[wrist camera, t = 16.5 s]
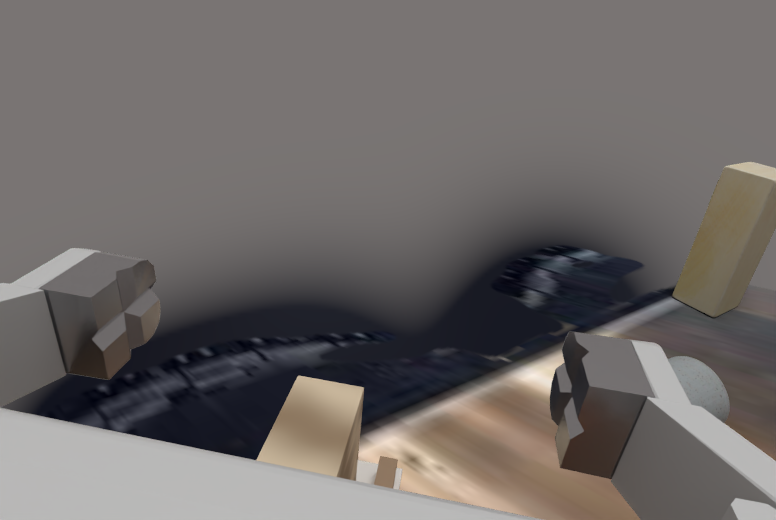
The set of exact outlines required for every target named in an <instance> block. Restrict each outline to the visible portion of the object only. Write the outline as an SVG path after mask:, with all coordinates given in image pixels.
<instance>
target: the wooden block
mask: <svg viewBox="0 0 776 520" xmlns="http://www.w3.org/2000/svg"><path fill="white" fill-rule="evenodd" d="M363 394H364V388H363V387H358V386H352V385H347V384H341V383H336V382H331V381H325V380H320V379H315V378H309V377H304V376H298V377H297V379H296V381H295V383H294V385H293V387H292V389H291V391H290V393H289V395H288V397H287V399H286V401H285V403H284V405H283V407H282V409H281V411H280V413H279V415H278V417H277V419H276V422H275V424H274V426H273V428H272V430H271V432H270V434H269V436H268V438H267V440H266V442H265V444H264V446H263V448H262V450H261V452H260V454H259V456H258V458H257V460H256V461H261V462H266V463H271V464H276V465H281V466H286V467H290V468H295V469H300V470H305V471H310V472H315V473H320V474H325V475H330V476H334V477H339V478H344V479H349V480H354V481H356V474H357V463H358V451H359V440H360V428H361V417H362V405H363Z"/></svg>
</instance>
